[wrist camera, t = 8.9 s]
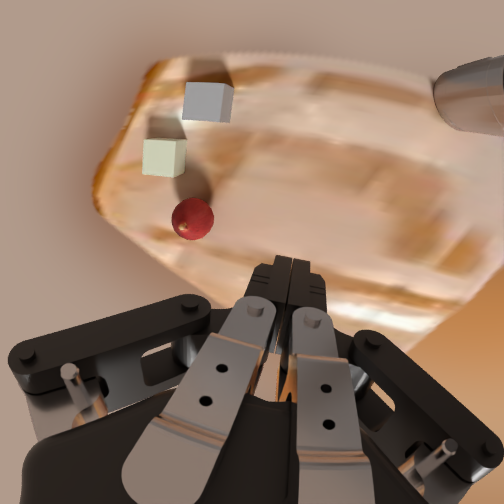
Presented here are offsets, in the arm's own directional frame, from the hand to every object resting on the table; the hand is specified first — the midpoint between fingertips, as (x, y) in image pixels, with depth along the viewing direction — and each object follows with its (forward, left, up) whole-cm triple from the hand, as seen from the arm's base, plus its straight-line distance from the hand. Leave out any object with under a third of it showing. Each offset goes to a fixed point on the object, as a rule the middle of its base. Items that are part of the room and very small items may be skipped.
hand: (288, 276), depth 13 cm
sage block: (+8, -18, -29) cm, 35 cm away
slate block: (-2, -16, -29) cm, 33 cm away
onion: (+13, -9, -29) cm, 33 cm away
